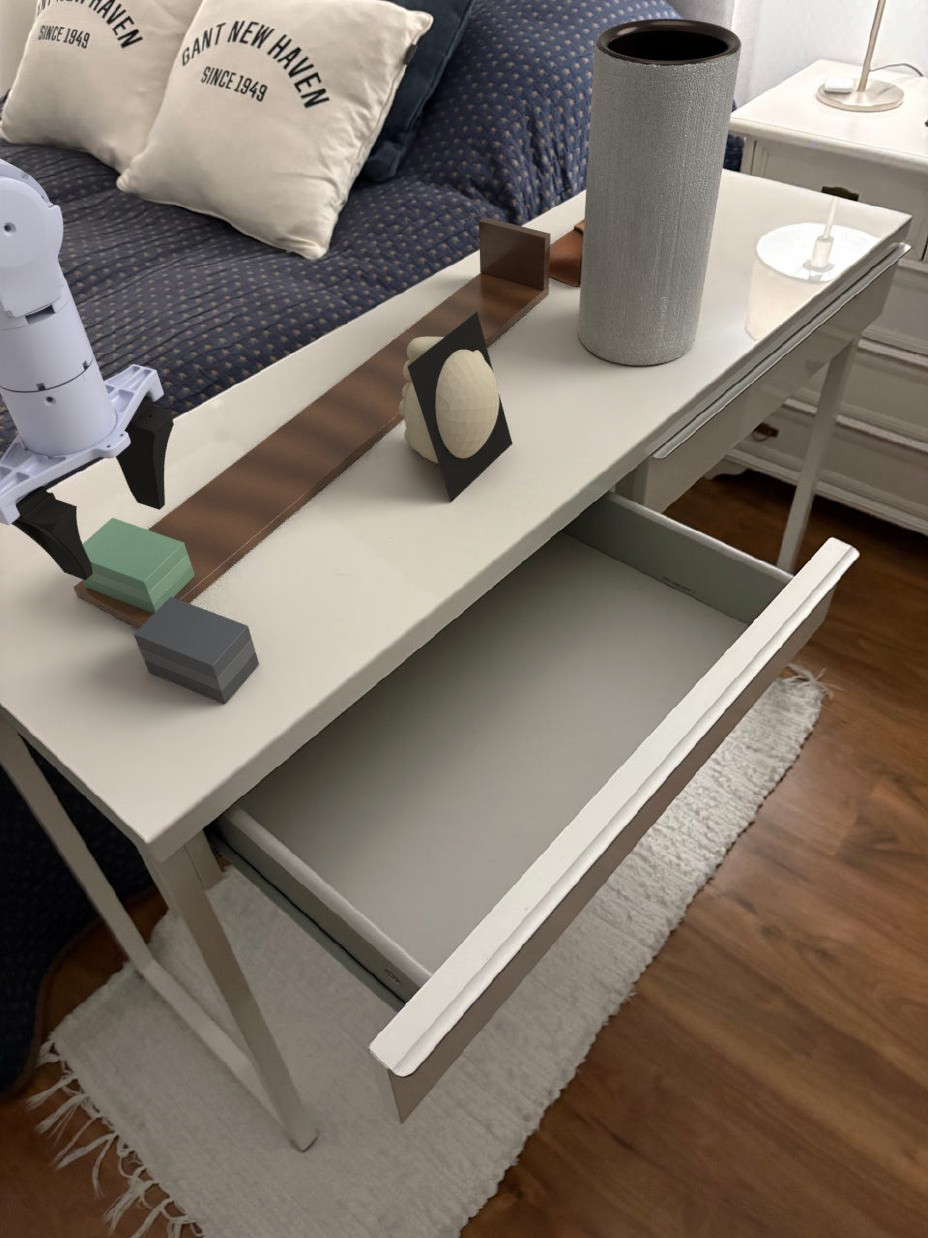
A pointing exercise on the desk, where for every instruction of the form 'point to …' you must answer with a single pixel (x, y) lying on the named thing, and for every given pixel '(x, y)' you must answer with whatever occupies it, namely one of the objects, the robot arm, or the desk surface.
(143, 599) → the green flat block
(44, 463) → the robot arm
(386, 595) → the desk surface
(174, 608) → the grey books
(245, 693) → the desk surface
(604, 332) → the planter
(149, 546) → the sage book
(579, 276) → the sunglasses case
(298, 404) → the desk surface
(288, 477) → the book ledge
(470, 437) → the decorative object
